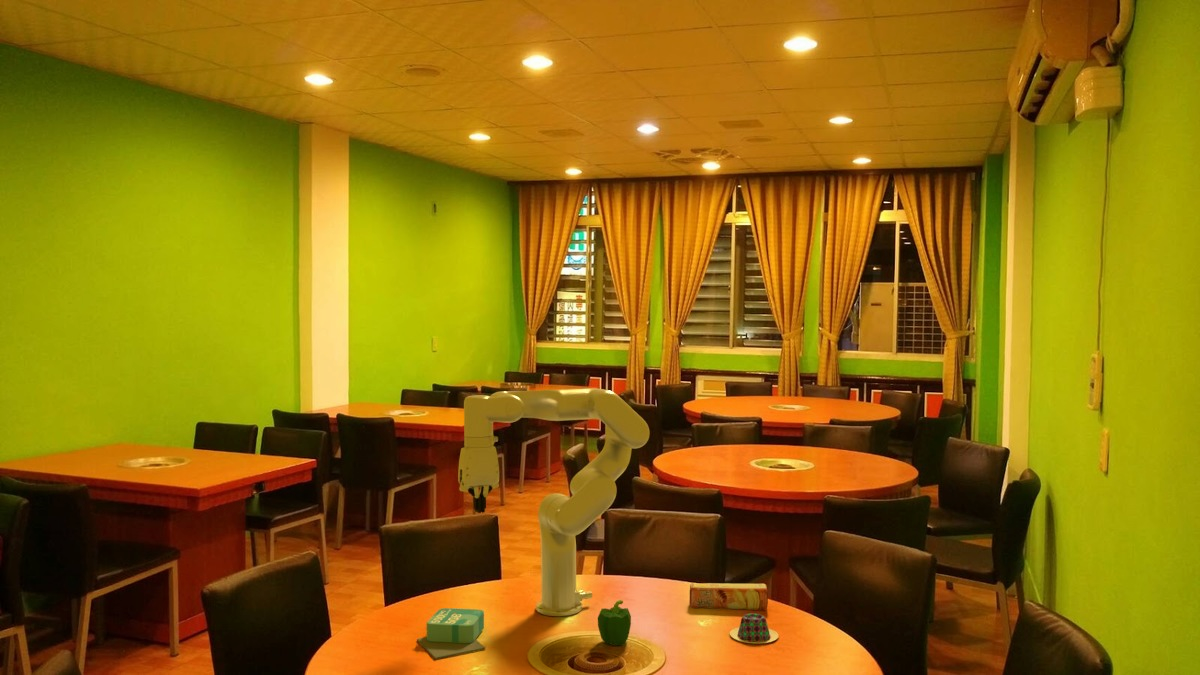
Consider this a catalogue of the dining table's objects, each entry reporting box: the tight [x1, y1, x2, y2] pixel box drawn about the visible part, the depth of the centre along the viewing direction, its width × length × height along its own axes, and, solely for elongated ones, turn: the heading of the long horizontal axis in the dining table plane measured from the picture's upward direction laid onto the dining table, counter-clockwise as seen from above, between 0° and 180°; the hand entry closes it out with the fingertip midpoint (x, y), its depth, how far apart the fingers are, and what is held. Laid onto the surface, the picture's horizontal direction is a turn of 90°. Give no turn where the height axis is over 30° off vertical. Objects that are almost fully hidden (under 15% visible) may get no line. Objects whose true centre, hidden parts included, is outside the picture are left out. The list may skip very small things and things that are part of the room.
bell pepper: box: [597, 599, 632, 647], centre depth 220 cm, size 8×8×10 cm
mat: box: [416, 636, 486, 661], centre depth 219 cm, size 12×14×1 cm
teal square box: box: [426, 607, 485, 643], centre depth 225 cm, size 12×4×12 cm
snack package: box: [688, 582, 769, 612], centre depth 245 cm, size 21×7×7 cm, turn 81°
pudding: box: [729, 612, 779, 644], centre depth 223 cm, size 12×12×5 cm
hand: (479, 511), depth 235 cm, fingers closed
